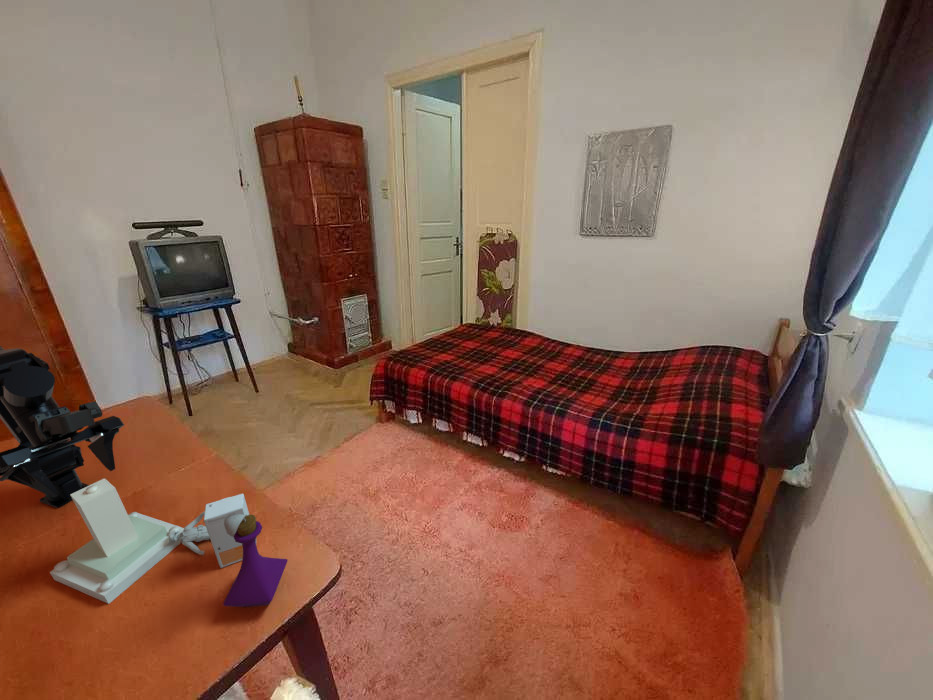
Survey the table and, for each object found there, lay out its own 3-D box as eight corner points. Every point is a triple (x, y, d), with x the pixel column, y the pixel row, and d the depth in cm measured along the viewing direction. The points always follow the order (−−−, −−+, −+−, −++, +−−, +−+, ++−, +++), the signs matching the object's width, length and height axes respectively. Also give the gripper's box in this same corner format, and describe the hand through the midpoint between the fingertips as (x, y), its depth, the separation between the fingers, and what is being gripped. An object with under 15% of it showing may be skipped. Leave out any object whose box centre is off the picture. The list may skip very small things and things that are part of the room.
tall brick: (97, 545, 68) (68, 491, 63) (128, 527, 72) (103, 475, 67) (107, 556, 66) (78, 502, 61) (138, 537, 70) (113, 484, 65)
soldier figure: (242, 548, 73) (164, 561, 67) (239, 548, 77) (165, 561, 70) (245, 505, 76) (171, 513, 70) (242, 508, 80) (171, 516, 73)
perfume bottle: (248, 575, 67) (222, 498, 60) (291, 571, 68) (270, 495, 61) (227, 618, 60) (195, 537, 53) (275, 614, 61) (250, 533, 54)
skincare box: (220, 569, 68) (202, 520, 64) (221, 551, 72) (204, 503, 67) (257, 555, 71) (242, 507, 66) (257, 538, 74) (243, 491, 70)
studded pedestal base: (54, 579, 66) (44, 564, 65) (138, 519, 79) (132, 504, 77) (108, 603, 63) (99, 587, 61) (188, 536, 75) (182, 521, 73)
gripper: (-12, 410, 59) (47, 492, 60) (117, 379, 77) (161, 443, 78) (-47, 440, 62) (10, 519, 63) (86, 403, 80) (128, 465, 81)
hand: (86, 482), depth 71 cm, fingers open, 9 cm apart
